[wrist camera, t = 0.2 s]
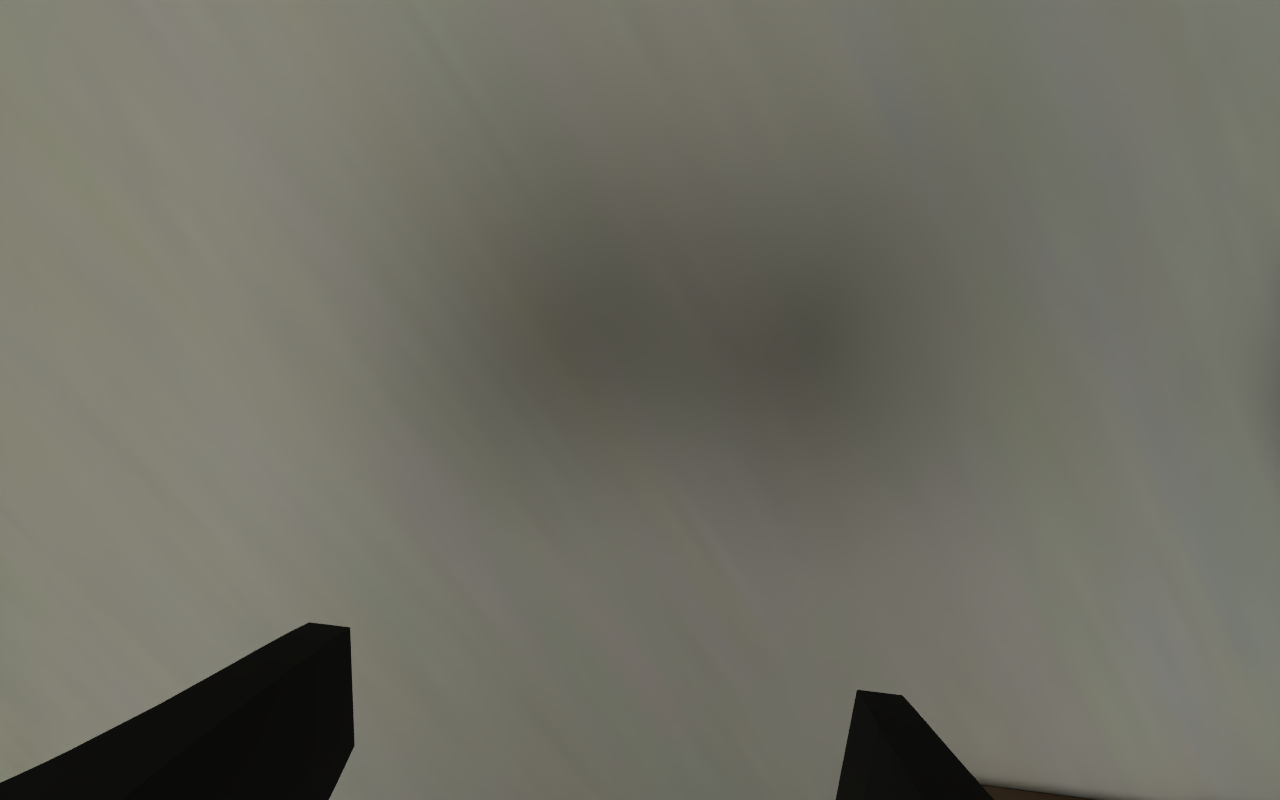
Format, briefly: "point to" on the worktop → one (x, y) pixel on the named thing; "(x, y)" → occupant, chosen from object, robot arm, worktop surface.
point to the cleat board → (1022, 795)
